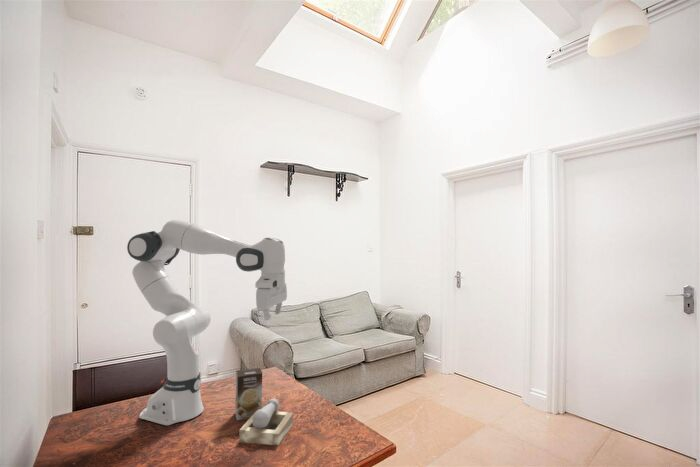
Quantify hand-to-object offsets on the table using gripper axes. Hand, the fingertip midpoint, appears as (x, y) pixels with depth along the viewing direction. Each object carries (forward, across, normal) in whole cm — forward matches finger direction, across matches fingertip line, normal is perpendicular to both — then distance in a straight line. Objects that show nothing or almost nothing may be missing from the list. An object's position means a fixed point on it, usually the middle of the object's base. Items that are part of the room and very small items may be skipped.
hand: (272, 316), depth 131 cm
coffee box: (+37, +3, -8) cm, 38 cm away
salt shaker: (+31, +18, +3) cm, 36 cm away
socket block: (+36, +13, +4) cm, 39 cm away
